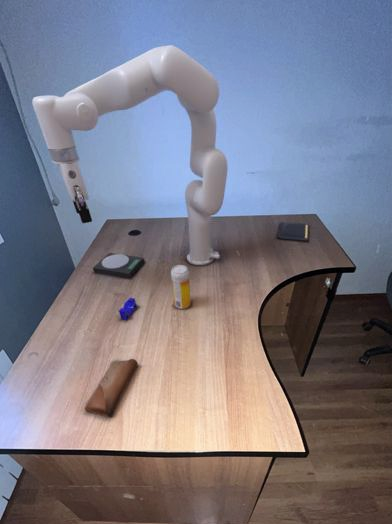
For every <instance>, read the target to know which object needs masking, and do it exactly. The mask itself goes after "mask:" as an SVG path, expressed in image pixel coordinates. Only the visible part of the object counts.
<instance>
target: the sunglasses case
mask: <svg viewBox="0 0 392 524" xmlns="http://www.w3.org/2000/svg"><path fill="white" fill-rule="evenodd" d="M138 364H139V363H138V361H137V360H136V359H135V358H129V359H127V360H122V361H121V360H120V361H113V362H112V363H111V365H110V366H109V367H108V369H107V371H106V373H105V374H104V376H103V377H102V379H101V380H100V382H99V384H97V387H96V388H95V390H94V392H93V393H92V394H91V396H90V398H89V399H88V401H87V403H86V404H85V405H84V410H85V411H86V412H88V413H91V414H95V415H97V416H101V417H105V418H110V417H111V416H112V415H113V413H114V411H115V410H116V408H117V406H118V403H119V401H120V400H121V397H122V395H123V393H124V391H125V390H126V387H127V386H128V383H129V382H130V380H131V377H132V376H133V374H134V372H135V371H136V368H137V366H138Z"/></svg>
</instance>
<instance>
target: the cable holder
mask: <svg viewBox="0 0 392 524" xmlns="http://www.w3.org/2000/svg"><path fill="white" fill-rule="evenodd" d="M137 308H138V306H137V301H136V298H134V297H129V298H128V299H127V300H126V301H125V302H124V305H123V307H121V308H120V309H119V310H118V313H119V317H120V319H121V320H122V321H128V319H129V318H130V317H131V315H132V314H133V313H134V312H135V310H136V309H137Z"/></svg>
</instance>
